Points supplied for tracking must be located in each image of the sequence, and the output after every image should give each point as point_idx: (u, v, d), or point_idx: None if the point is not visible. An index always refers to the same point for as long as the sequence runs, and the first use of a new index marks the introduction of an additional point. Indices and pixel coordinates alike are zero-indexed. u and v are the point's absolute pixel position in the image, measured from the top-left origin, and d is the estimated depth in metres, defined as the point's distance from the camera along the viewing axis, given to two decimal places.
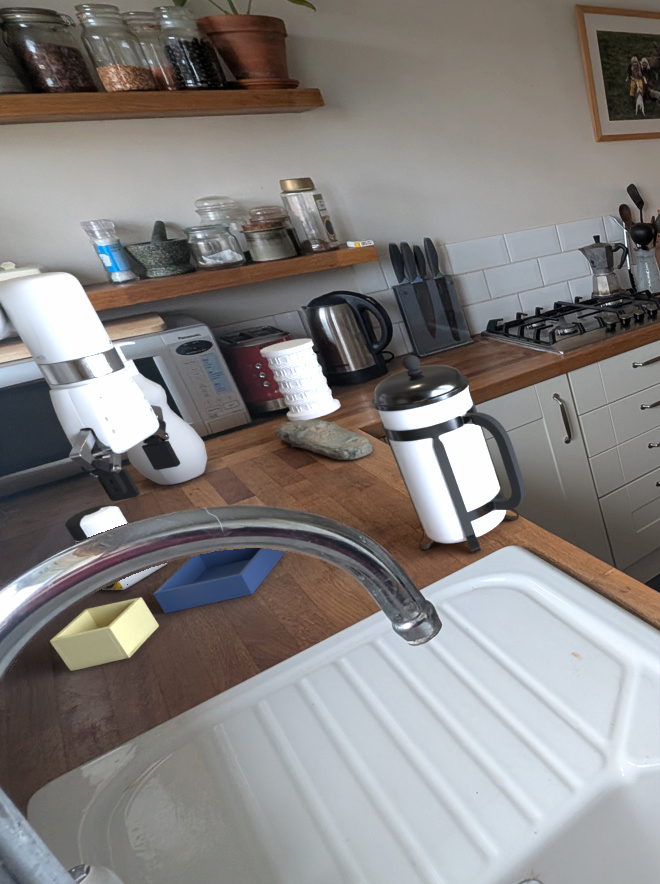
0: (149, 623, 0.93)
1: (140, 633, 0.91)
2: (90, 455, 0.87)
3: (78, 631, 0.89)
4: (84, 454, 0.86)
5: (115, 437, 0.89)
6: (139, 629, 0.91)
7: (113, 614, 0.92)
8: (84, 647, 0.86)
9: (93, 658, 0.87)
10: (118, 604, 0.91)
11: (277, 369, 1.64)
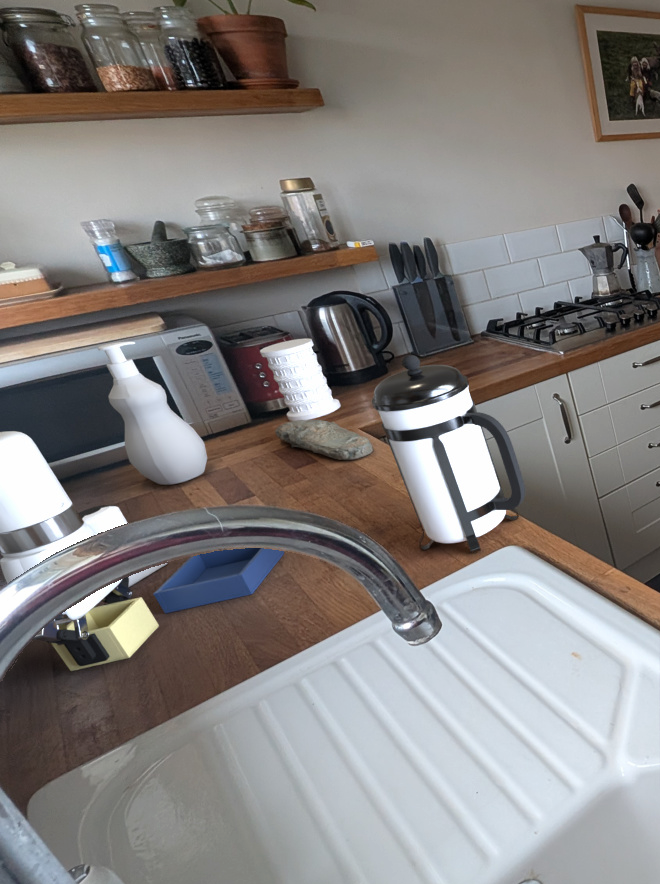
0: (149, 623, 0.93)
1: (140, 633, 0.91)
2: (53, 629, 0.82)
3: None
4: (47, 631, 0.81)
5: None
6: (139, 629, 0.91)
7: (113, 614, 0.92)
8: None
9: None
10: (118, 604, 0.91)
11: (277, 369, 1.64)
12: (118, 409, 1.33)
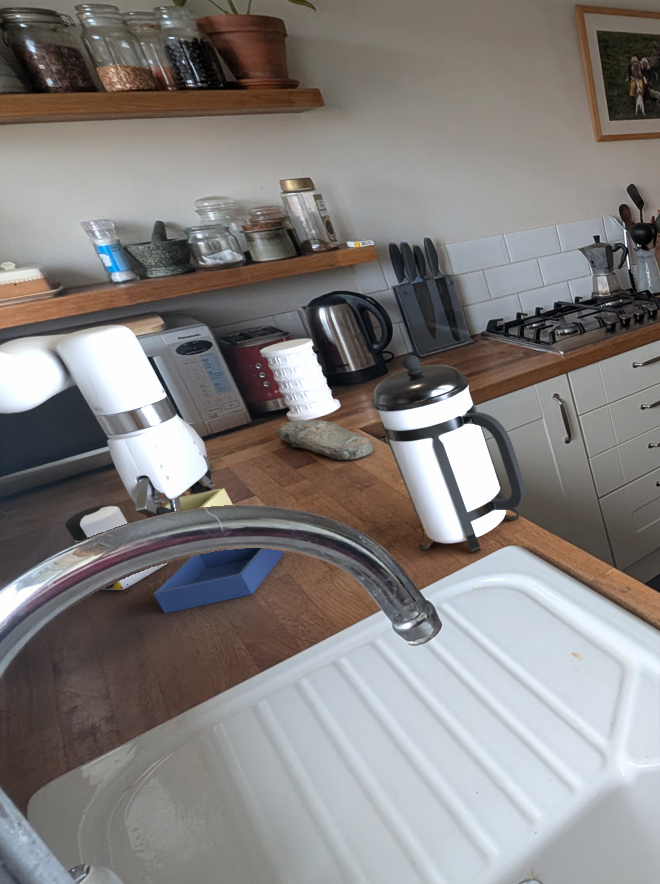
0: None
1: None
2: (154, 505, 0.90)
3: None
4: (149, 506, 0.90)
5: (169, 483, 0.92)
6: None
7: (199, 503, 1.00)
8: None
9: None
10: (203, 494, 1.00)
11: (277, 369, 1.64)
12: None
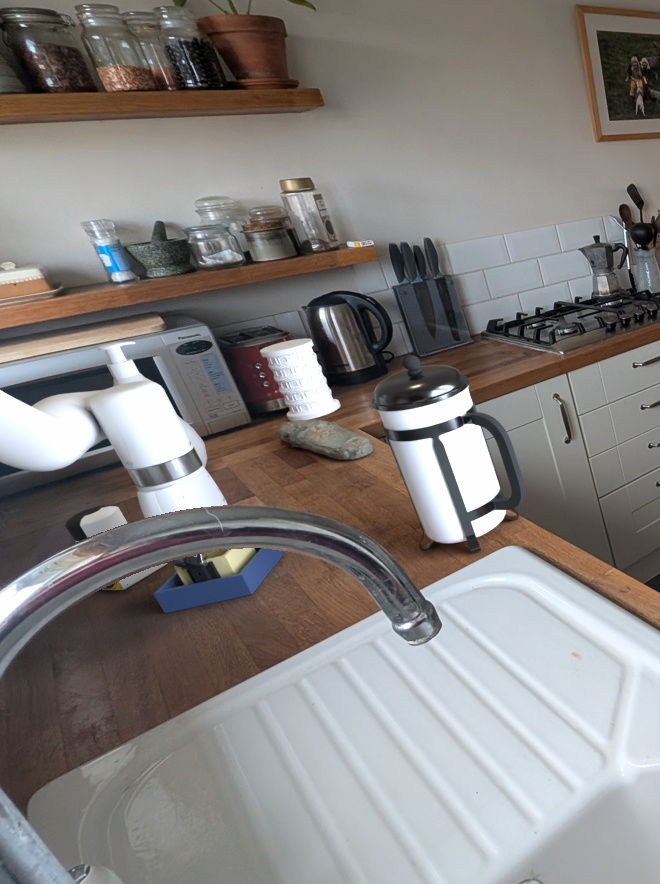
0: (253, 556, 1.04)
1: None
2: None
3: None
4: None
5: None
6: (246, 560, 1.03)
7: None
8: None
9: None
10: None
11: (277, 369, 1.64)
12: None
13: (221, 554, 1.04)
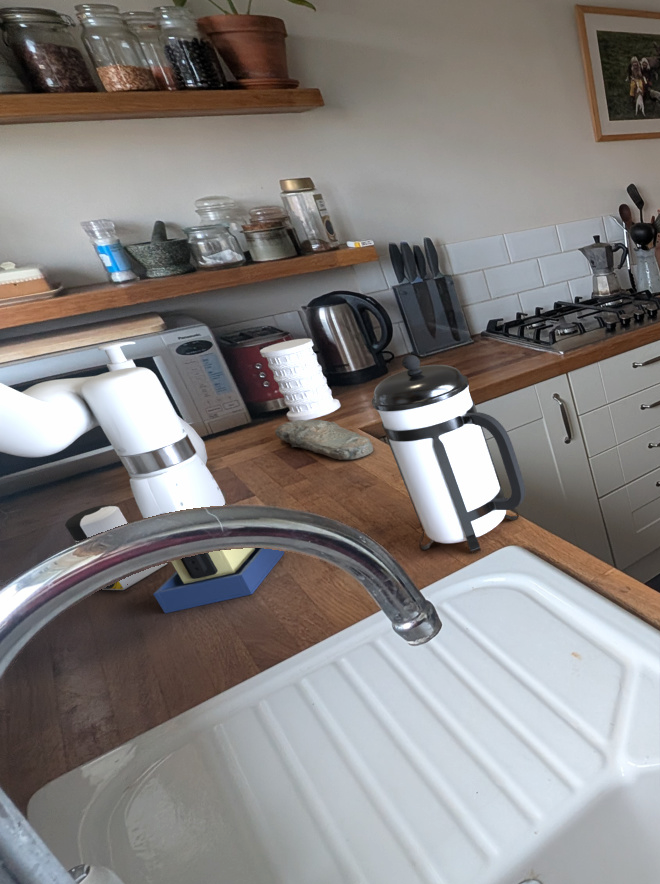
0: None
1: (241, 553, 1.02)
2: None
3: None
4: None
5: None
6: (241, 549, 1.02)
7: None
8: None
9: None
10: None
11: (277, 369, 1.64)
12: None
13: None
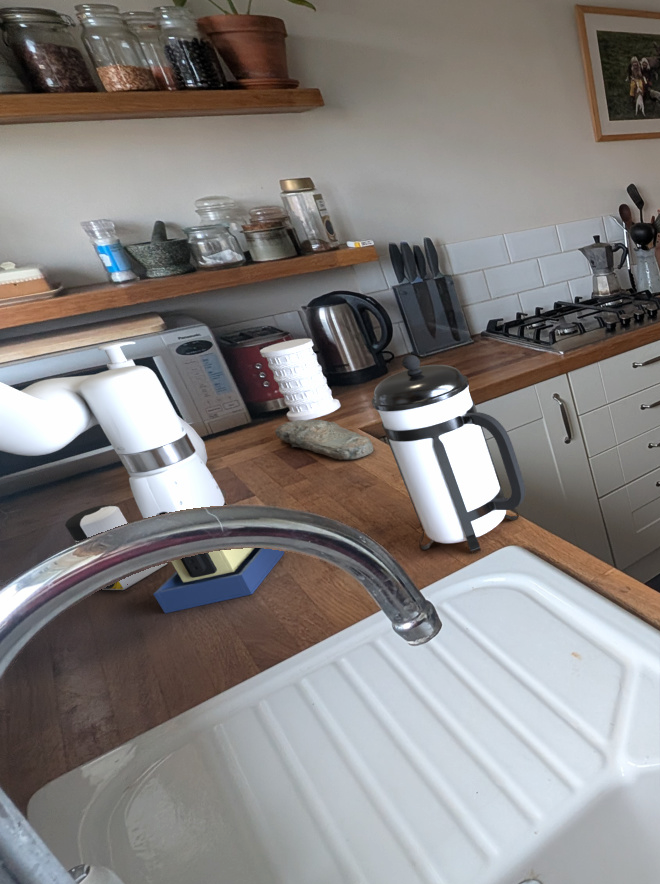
0: None
1: (241, 552, 1.02)
2: None
3: None
4: None
5: None
6: None
7: None
8: None
9: None
10: None
11: (277, 369, 1.64)
12: None
13: None
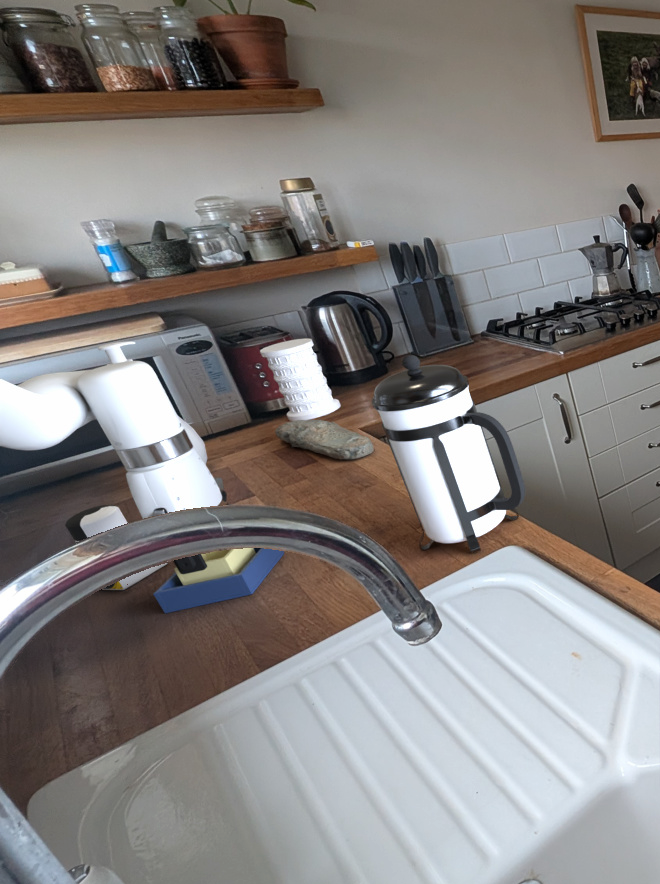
0: None
1: None
2: None
3: None
4: None
5: None
6: (246, 563, 1.03)
7: (222, 550, 1.04)
8: (203, 576, 0.98)
9: None
10: None
11: (277, 369, 1.64)
12: None
13: (221, 556, 1.04)
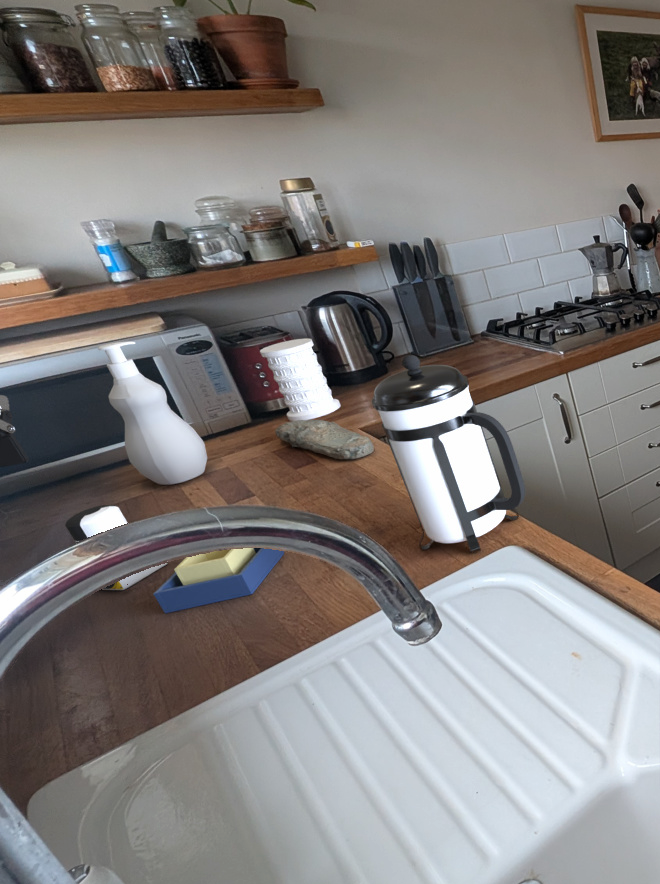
0: None
1: None
2: None
3: (195, 563, 1.01)
4: None
5: None
6: (246, 563, 1.03)
7: (222, 550, 1.04)
8: (203, 576, 0.98)
9: None
10: None
11: (277, 369, 1.64)
12: (118, 409, 1.33)
13: (221, 556, 1.04)
